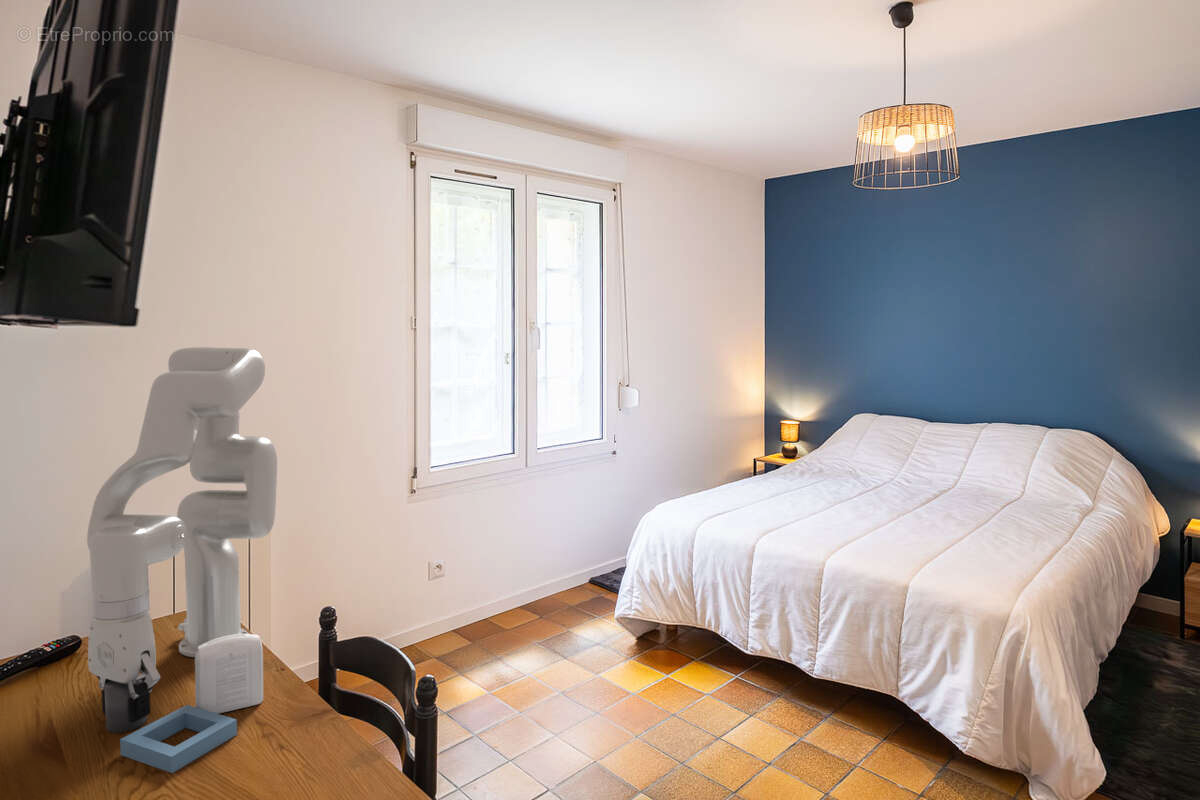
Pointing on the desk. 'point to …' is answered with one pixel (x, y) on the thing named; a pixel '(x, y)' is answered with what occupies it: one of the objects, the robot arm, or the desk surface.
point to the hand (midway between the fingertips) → (126, 713)
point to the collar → (170, 758)
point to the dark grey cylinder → (119, 707)
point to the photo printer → (229, 673)
